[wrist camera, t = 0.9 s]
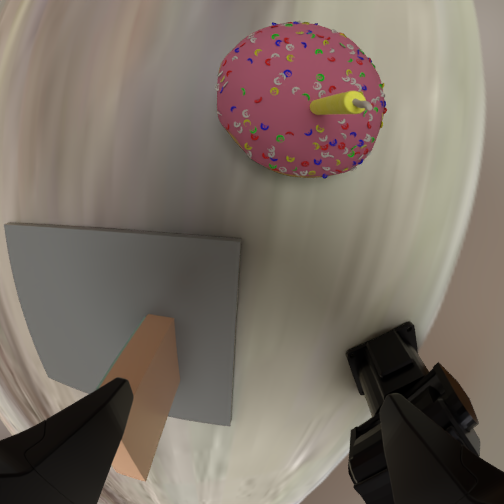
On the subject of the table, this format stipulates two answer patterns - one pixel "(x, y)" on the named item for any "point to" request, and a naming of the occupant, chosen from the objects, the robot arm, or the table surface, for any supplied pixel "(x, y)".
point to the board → (130, 304)
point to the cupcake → (301, 100)
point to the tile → (146, 391)
